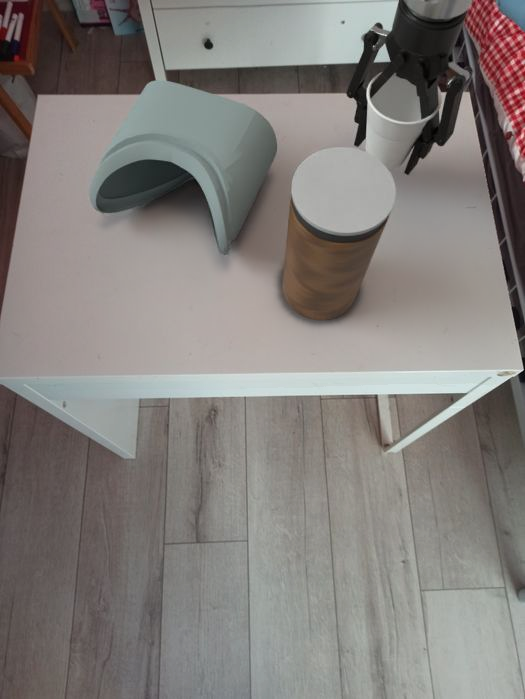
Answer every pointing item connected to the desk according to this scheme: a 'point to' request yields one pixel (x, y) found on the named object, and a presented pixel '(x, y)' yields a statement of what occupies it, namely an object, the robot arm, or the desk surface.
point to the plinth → (323, 270)
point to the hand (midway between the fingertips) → (385, 154)
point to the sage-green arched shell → (187, 155)
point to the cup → (394, 121)
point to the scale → (342, 194)
